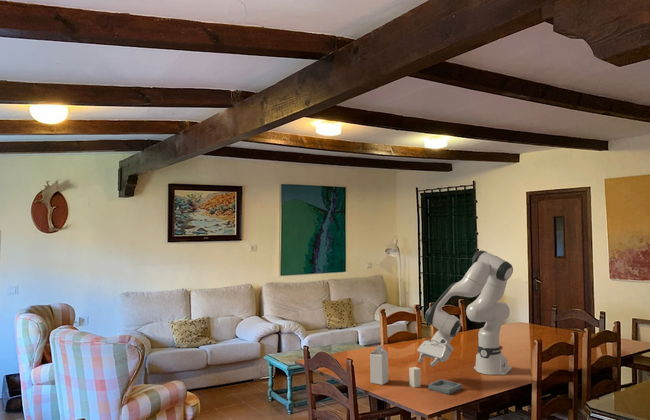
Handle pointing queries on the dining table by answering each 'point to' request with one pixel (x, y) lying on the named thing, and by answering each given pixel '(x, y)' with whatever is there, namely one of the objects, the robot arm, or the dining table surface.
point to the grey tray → (445, 386)
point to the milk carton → (379, 366)
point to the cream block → (414, 377)
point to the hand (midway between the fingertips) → (425, 363)
